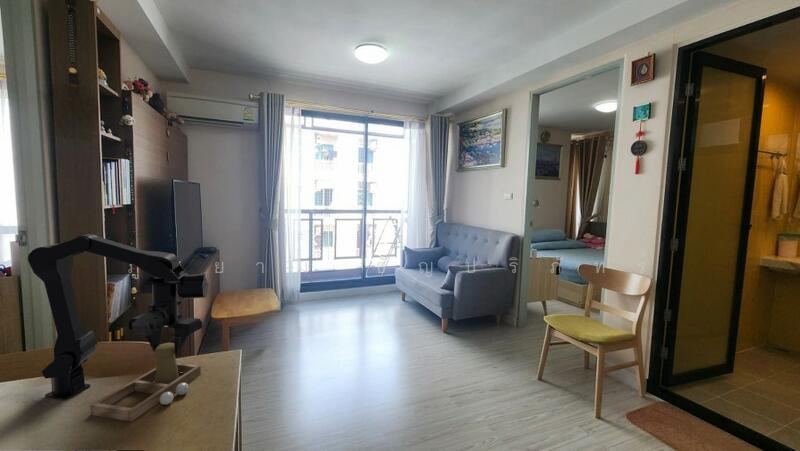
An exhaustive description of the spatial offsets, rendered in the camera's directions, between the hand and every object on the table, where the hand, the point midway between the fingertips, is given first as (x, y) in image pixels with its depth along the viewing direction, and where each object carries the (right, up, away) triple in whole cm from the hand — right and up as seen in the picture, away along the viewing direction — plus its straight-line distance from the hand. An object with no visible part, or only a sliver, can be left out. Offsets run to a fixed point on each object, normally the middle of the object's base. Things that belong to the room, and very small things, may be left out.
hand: (166, 353), depth 97 cm
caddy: (-1, -9, -4) cm, 10 cm away
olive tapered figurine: (0, -9, +1) cm, 9 cm away
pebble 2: (+7, -9, -5) cm, 13 cm away
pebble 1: (+6, -10, -9) cm, 15 cm away
